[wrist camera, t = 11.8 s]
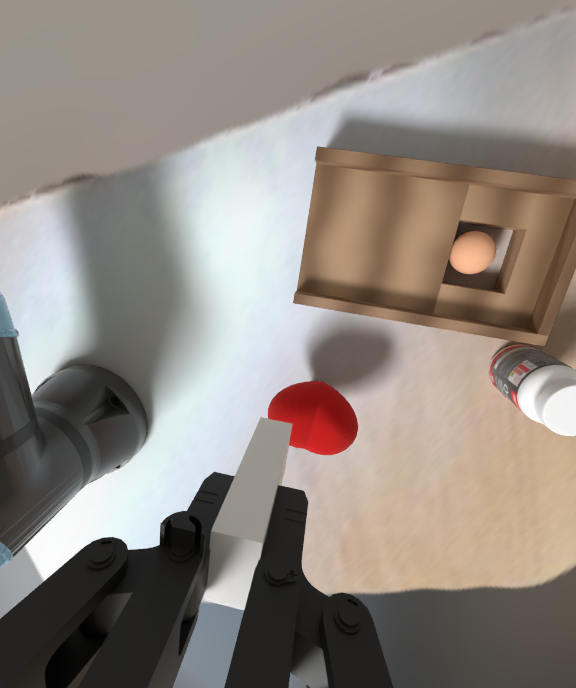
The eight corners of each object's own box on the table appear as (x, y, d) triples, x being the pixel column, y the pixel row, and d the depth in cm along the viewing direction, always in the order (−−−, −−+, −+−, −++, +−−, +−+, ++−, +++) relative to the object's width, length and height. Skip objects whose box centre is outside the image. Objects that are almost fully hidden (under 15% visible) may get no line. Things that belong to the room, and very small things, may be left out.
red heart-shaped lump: (362, 376, 40) (370, 418, 31) (345, 426, 42) (347, 480, 33) (286, 354, 41) (271, 388, 31) (273, 405, 43) (254, 451, 33)
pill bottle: (475, 375, 38) (520, 418, 29) (510, 333, 36) (570, 365, 27) (518, 401, 38) (577, 452, 29) (555, 360, 37) (631, 402, 27)
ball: (445, 269, 36) (441, 270, 33) (457, 229, 35) (454, 226, 31) (487, 277, 34) (487, 278, 31) (501, 235, 33) (503, 232, 30)
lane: (298, 296, 38) (293, 303, 34) (319, 158, 34) (317, 146, 30) (520, 334, 36) (544, 346, 32) (572, 191, 32) (609, 184, 28)
